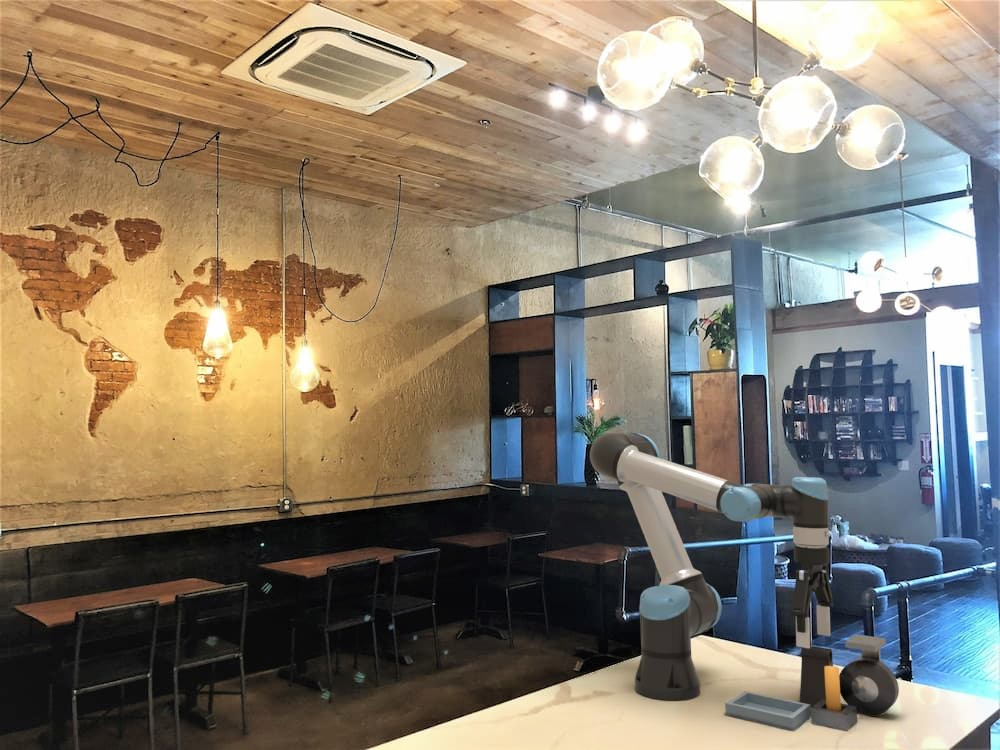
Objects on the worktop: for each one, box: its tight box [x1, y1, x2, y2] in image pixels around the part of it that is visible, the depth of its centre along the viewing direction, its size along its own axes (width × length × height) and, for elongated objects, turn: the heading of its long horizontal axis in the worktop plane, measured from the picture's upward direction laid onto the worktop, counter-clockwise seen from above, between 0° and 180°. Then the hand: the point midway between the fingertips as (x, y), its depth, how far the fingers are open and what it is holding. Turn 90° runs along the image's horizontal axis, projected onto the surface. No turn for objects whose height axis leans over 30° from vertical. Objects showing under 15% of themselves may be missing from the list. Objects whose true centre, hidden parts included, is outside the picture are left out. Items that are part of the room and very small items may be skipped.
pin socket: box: [810, 700, 858, 732], centre depth 157 cm, size 7×7×3 cm
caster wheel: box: [839, 634, 900, 717], centre depth 163 cm, size 11×8×15 cm
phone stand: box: [799, 645, 834, 708], centre depth 169 cm, size 9×6×12 cm, turn 142°
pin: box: [824, 665, 842, 712], centre depth 157 cm, size 3×3×11 cm
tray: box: [724, 690, 812, 732], centre depth 161 cm, size 14×10×2 cm
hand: (813, 640), depth 170 cm, fingers open, 13 cm apart
